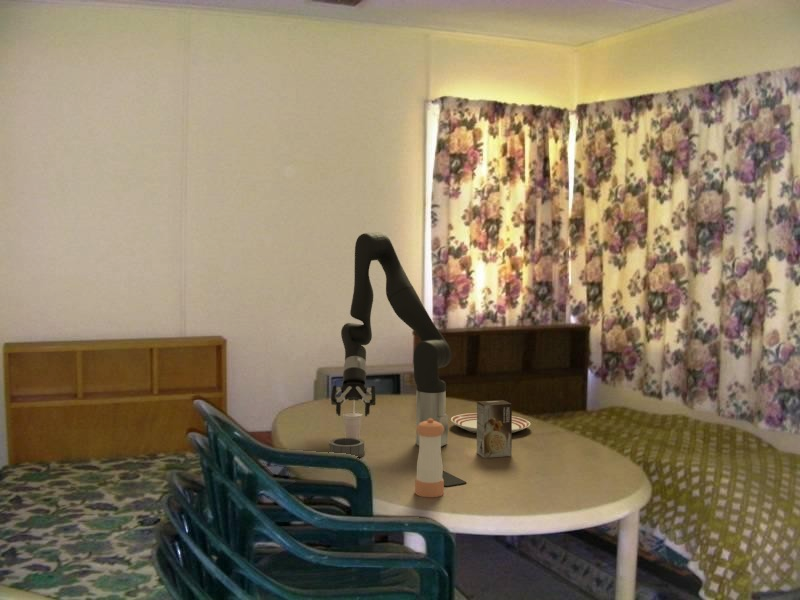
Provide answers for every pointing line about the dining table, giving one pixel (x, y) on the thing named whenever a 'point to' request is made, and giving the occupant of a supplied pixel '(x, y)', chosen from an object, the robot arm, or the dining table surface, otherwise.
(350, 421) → the smoothie
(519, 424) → the dinner plate
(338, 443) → the grey short hollow cylinder
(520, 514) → the dining table surface
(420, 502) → the dining table surface
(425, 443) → the salt shaker
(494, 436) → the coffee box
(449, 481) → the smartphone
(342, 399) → the robot arm
